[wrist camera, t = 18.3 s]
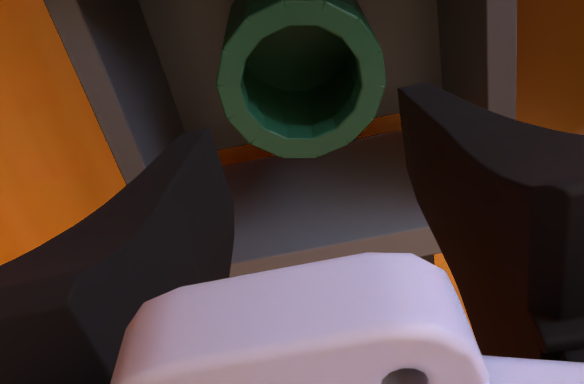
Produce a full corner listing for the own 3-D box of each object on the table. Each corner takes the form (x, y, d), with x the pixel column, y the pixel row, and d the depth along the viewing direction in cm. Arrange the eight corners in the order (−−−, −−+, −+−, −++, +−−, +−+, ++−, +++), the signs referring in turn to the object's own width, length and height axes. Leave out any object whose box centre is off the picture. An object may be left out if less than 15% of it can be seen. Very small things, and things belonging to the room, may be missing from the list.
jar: (350, -55, 18) (373, -21, 14) (369, 81, 21) (394, 143, 17) (210, -22, 18) (194, 20, 14) (247, 108, 21) (242, 173, 17)
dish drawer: (479, 239, 26) (534, 348, 21) (216, 288, 28) (203, 403, 22) (462, -264, 16) (562, -312, 11) (43, -155, 17) (-63, -146, 12)
